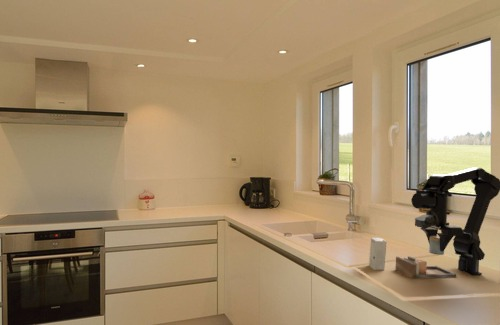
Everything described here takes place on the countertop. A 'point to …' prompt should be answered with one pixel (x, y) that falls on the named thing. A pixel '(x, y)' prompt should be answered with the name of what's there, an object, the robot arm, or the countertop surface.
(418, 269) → the pusher
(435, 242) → the slate jar
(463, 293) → the countertop surface
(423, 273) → the jar
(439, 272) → the lane
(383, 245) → the skincare box
